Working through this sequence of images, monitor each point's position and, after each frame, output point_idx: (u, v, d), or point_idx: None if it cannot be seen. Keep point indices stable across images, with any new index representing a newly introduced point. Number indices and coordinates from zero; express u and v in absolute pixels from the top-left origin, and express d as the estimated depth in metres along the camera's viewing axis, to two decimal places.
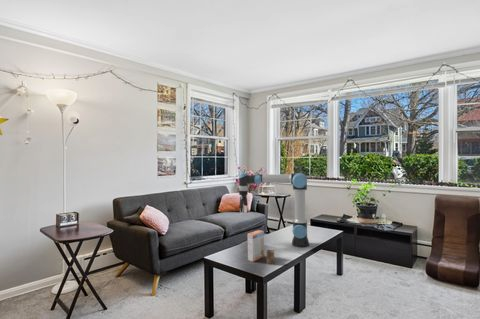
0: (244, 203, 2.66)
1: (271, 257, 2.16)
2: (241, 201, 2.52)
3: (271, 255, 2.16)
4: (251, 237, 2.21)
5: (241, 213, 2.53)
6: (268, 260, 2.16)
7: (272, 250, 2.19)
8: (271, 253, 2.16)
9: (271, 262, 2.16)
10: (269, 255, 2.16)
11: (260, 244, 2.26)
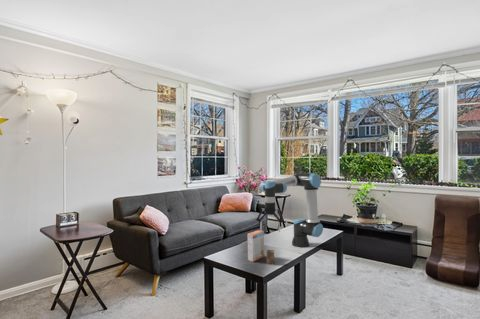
0: None
1: (271, 257, 2.16)
2: (259, 213, 2.19)
3: (271, 255, 2.16)
4: (251, 237, 2.21)
5: None
6: (268, 260, 2.16)
7: (272, 250, 2.19)
8: (271, 253, 2.16)
9: (271, 262, 2.16)
10: (269, 255, 2.16)
11: (260, 244, 2.26)
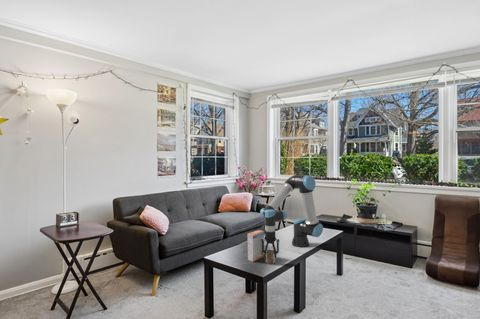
0: None
1: (271, 257, 2.16)
2: (262, 244, 2.19)
3: (271, 255, 2.16)
4: (251, 237, 2.21)
5: (266, 258, 2.19)
6: (268, 260, 2.16)
7: (272, 250, 2.19)
8: (271, 253, 2.16)
9: (271, 262, 2.16)
10: (269, 255, 2.16)
11: (260, 244, 2.26)
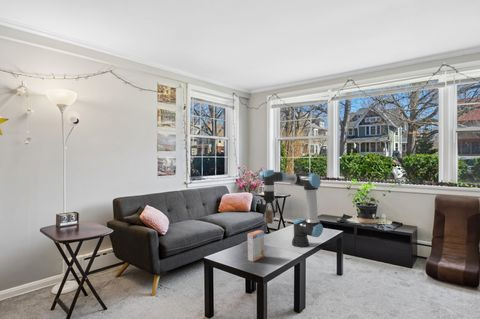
0: None
1: (270, 216, 2.16)
2: None
3: (270, 215, 2.16)
4: (251, 237, 2.21)
5: None
6: (267, 219, 2.16)
7: (271, 210, 2.19)
8: (270, 212, 2.16)
9: (270, 221, 2.16)
10: (268, 215, 2.16)
11: (260, 244, 2.26)
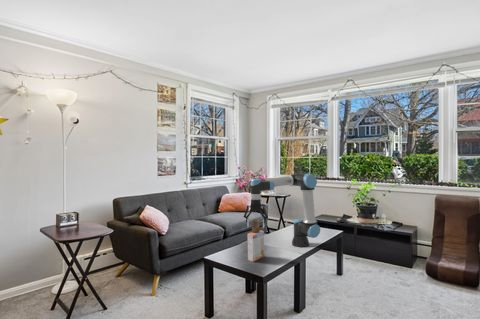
0: None
1: (256, 226, 2.24)
2: (246, 210, 2.28)
3: (256, 224, 2.24)
4: (251, 237, 2.21)
5: None
6: (253, 229, 2.25)
7: (257, 220, 2.28)
8: (256, 222, 2.24)
9: (256, 231, 2.24)
10: (254, 225, 2.24)
11: (260, 244, 2.26)
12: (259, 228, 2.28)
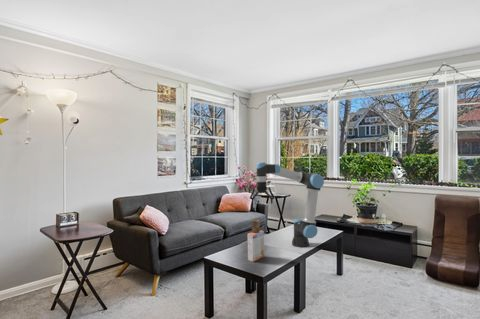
0: (269, 196, 2.37)
1: (256, 226, 2.24)
2: (252, 192, 2.39)
3: (256, 224, 2.24)
4: (251, 237, 2.21)
5: None
6: (253, 229, 2.25)
7: (257, 220, 2.28)
8: (256, 222, 2.24)
9: (256, 231, 2.24)
10: (254, 225, 2.24)
11: (260, 244, 2.26)
12: (259, 228, 2.28)
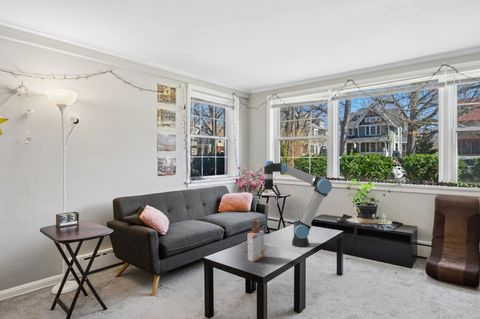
0: (275, 193, 2.51)
1: (257, 226, 2.24)
2: None
3: (256, 224, 2.24)
4: (251, 237, 2.21)
5: None
6: (253, 229, 2.25)
7: (257, 220, 2.28)
8: (256, 222, 2.24)
9: (256, 231, 2.24)
10: (254, 224, 2.24)
11: (260, 244, 2.26)
12: (259, 228, 2.28)
